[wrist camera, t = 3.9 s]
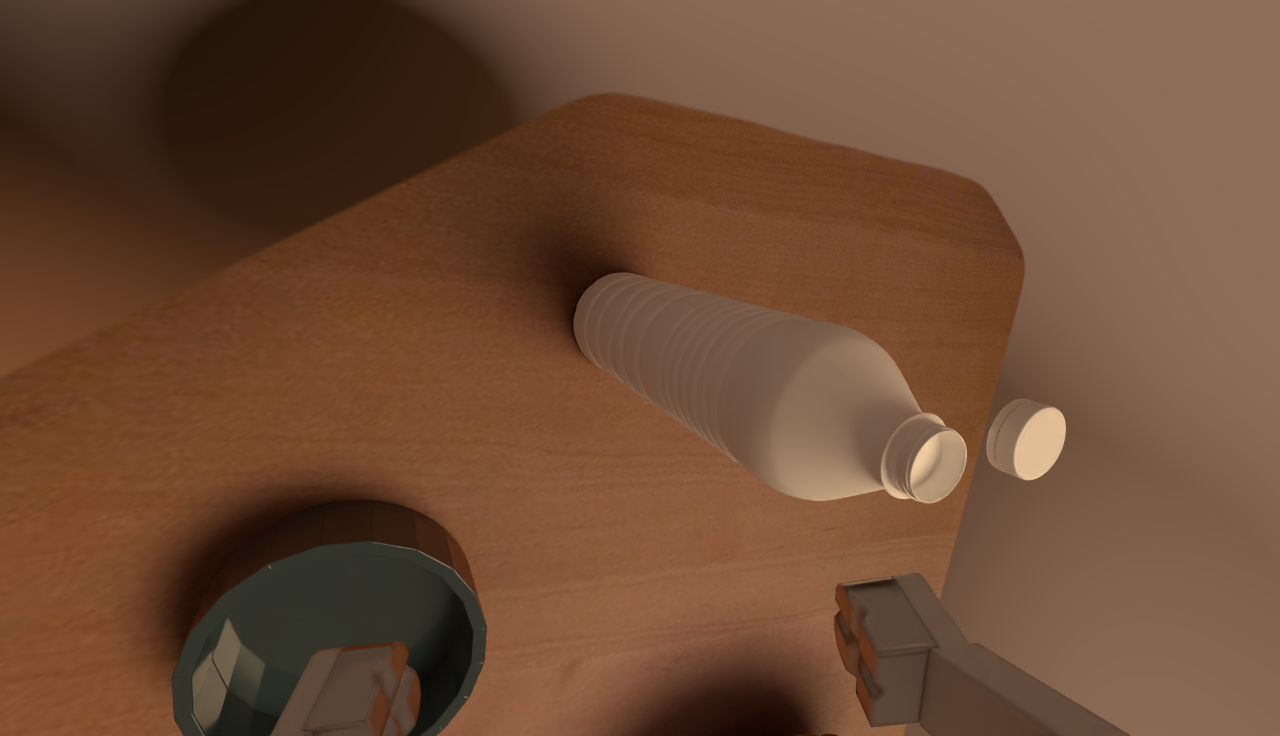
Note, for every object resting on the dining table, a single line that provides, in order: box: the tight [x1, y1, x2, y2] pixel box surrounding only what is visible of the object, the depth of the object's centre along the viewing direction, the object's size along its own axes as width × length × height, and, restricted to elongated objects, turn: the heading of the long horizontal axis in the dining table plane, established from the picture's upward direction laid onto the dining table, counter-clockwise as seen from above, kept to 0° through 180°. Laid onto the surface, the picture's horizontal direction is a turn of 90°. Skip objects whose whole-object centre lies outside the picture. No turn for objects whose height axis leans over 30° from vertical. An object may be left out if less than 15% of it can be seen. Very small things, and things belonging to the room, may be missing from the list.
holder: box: [172, 501, 487, 736], centre depth 34 cm, size 15×15×5 cm
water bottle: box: [574, 272, 1066, 503], centre depth 28 cm, size 9×6×25 cm
